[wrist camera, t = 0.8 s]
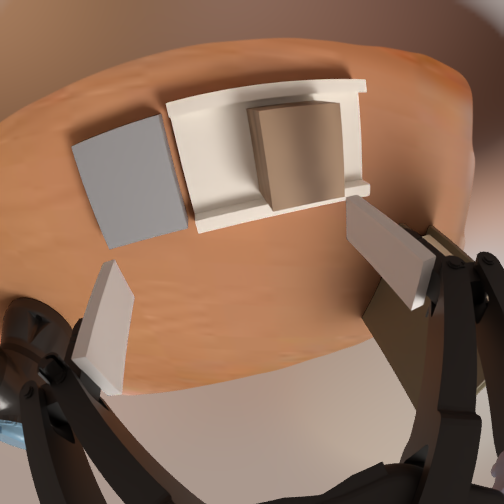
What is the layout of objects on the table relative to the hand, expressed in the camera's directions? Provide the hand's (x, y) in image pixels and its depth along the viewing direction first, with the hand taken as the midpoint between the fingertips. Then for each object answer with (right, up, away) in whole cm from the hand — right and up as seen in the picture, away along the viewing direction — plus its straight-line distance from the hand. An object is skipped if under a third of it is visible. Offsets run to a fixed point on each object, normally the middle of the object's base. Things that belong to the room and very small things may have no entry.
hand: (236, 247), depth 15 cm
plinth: (-13, +8, +15) cm, 21 cm away
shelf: (+4, +12, +16) cm, 20 cm away
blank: (+5, +12, +15) cm, 20 cm away
